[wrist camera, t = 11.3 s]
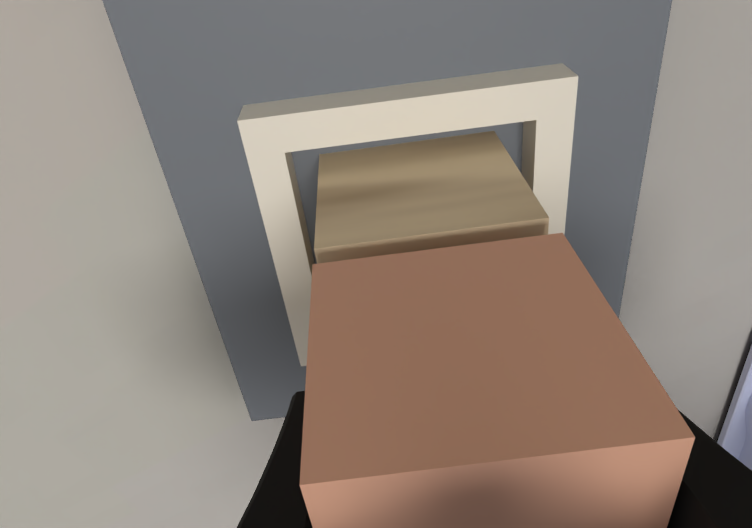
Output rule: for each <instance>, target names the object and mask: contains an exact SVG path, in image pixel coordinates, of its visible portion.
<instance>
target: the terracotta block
mask: <svg viewBox="0 0 752 528" xmlns="http://www.w3.org/2000/svg"><path fill="white" fill-rule="evenodd" d="M694 440H695V436H694V434H693V433H692V431H691V430H690V428H689V427H688V425H687V423H686V422H685V420H684V419H683V417H682V416H681V414H680V413H679V411H678V410H677V408H676V407H675V405H674V403H673V402H672V400H671V399H670V397H669V396H668V394H667V393H666V391H665V390H664V388H663V386H662V385H661V383H660V382H659V380H658V379H657V377H656V376H655V374H654V373H653V371H652V370H651V368H650V366H649V365H648V363H647V362H646V360H645V359H644V357H643V356H642V354H641V353H640V351H639V350H638V348H637V346H636V345H635V343H634V342H633V340H632V339H631V337H630V336H629V334H628V333H627V331H626V329H625V328H624V326H623V325H622V323H621V322H620V320H619V319H618V317H617V316H616V314H615V313H614V311H613V309H612V308H611V306H610V305H609V303H608V302H607V300H606V299H605V297H604V296H603V294H602V292H601V291H600V289H599V288H598V286H597V285H596V283H595V282H594V280H593V279H592V277H591V276H590V274H589V272H588V271H587V269H586V268H585V266H584V265H583V263H582V262H581V260H580V259H579V257H578V256H577V254H576V252H575V251H574V249H573V248H572V246H571V245H570V243H569V242H568V240H567V239H566V237H565V235H564V234H563V233H556V234H548V235H540V236H532V237H524V238H516V239H508V240H500V241H493V242H485V243H477V244H469V245H461V246H453V247H445V248H437V249H429V250H421V251H413V252H405V253H398V254H390V255H382V256H374V257H366V258H358V259H350V260H342V261H334V262H326V263H318V264H313V265H312V282H311V299H310V316H309V333H308V350H307V367H306V384H305V400H304V417H303V434H302V451H301V468H300V488H301V492H302V495H303V498H304V501H305V505H306V508H307V511H308V514H309V518H310V521H311V524H312V527H313V528H667V526H668V523H669V519H670V516H671V513H672V510H673V507H674V503H675V500H676V497H677V494H678V491H679V488H680V484H681V481H682V478H683V475H684V472H685V469H686V465H687V462H688V459H689V456H690V453H691V449H692V446H693V443H694Z"/></svg>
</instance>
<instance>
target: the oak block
mask: <svg viewBox="0 0 752 528" xmlns="http://www.w3.org/2000/svg"><path fill="white" fill-rule="evenodd" d="M548 228H549V217H548V215H547V213H546V212H545V210H544V209H543V207H542V206H541V204H540V202H539V201H538V199H537V198H536V196H535V195H534V193H533V191H532V190H531V188H530V187H529V185H528V184H527V182H526V180H525V179H524V177H523V176H522V174H521V172H520V171H519V169H518V168H517V166H516V165H515V163H514V161H513V160H512V158H511V157H510V155H509V154H508V152H507V150H506V149H505V147H504V146H503V144H502V142H501V141H500V139H499V138H498V136H497V135H496V133H495V131H488V132H481V133H473V134H466V135H459V136H451V137H444V138H437V139H429V140H422V141H414V142H407V143H400V144H392V145H385V146H378V147H370V148H363V149H355V150H348V151H341V152H333V153H326V154H319V169H318V187H317V205H316V223H315V241H314V251H315V256H316V260H317V264H318V263H326V262H334V261H342V260H350V259H358V258H366V257H374V256H382V255H390V254H398V253H405V252H413V251H421V250H429V249H437V248H445V247H453V246H461V245H469V244H477V243H485V242H493V241H500V240H508V239H516V238H524V237H532V236H540V235H548Z"/></svg>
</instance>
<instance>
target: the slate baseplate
mask: <svg viewBox="0 0 752 528" xmlns="http://www.w3.org/2000/svg"><path fill="white" fill-rule="evenodd" d="M102 1H103V3H104V6H105V9H106V12H107V15H108V17H109V20H110V23H111V26H112V29H113V32H114V34H115V37H116V40H117V43H118V46H119V48H120V51H121V54H122V57H123V60H124V63H125V65H126V68H127V71H128V74H129V77H130V79H131V82H132V85H133V88H134V91H135V94H136V96H137V99H138V102H139V105H140V108H141V110H142V113H143V116H144V119H145V122H146V125H147V127H148V130H149V133H150V136H151V139H152V141H153V144H154V147H155V150H156V153H157V156H158V158H159V161H160V164H161V167H162V170H163V172H164V175H165V178H166V181H167V184H168V187H169V189H170V192H171V195H172V198H173V201H174V203H175V206H176V209H177V212H178V215H179V218H180V220H181V223H182V226H183V229H184V232H185V234H186V237H187V240H188V243H189V246H190V249H191V251H192V254H193V257H194V260H195V263H196V265H197V268H198V271H199V274H200V277H201V280H202V282H203V285H204V288H205V291H206V294H207V296H208V299H209V302H210V305H211V308H212V311H213V313H214V316H215V319H216V322H217V325H218V327H219V330H220V333H221V336H222V339H223V342H224V344H225V347H226V350H227V353H228V356H229V358H230V361H231V364H232V367H233V370H234V373H235V375H236V378H237V381H238V384H239V387H240V389H241V392H242V395H243V398H244V401H245V404H246V406H247V409H248V412H249V415H250V418H251V420H252V421H256V420H264V419H272V418H280V417H286V414H287V411H288V408H289V405H290V402H291V399H292V396H293V395H294V394H295V393H296V392H299V391H305V384H306V367H307V350H308V333H309V316H310V299H311V282H312V265H313V264H317V260H316V256H315V251H314V241H315V223H316V205H317V187H318V169H319V154H326V153H333V152H341V151H348V150H355V149H363V148H370V147H378V146H385V145H392V144H400V143H407V142H414V141H422V140H429V139H437V138H444V137H451V136H459V135H466V134H473V133H481V132H488V131H495V133H496V135H497V136H498V138H499V139H500V141H501V142H502V144H503V146H504V147H505V149H506V150H507V152H508V154H509V155H510V157H511V158H512V160H513V161H514V163H515V165H516V166H517V168H518V169H519V171H520V172H521V174H522V176H523V177H524V179H525V180H526V182H527V184H528V185H529V187H530V188H531V190H532V191H533V193H534V195H535V196H536V198H537V199H538V201H539V202H540V204H541V206H542V207H543V209H544V210H545V212H546V213H547V215H548V217H549V228H548V234H556V233H563V234H564V235H565V237H566V239H567V240H568V242H569V243H570V245H571V246H572V248H573V249H574V251H575V252H576V254H577V256H578V257H579V259H580V260H581V262H582V263H583V265H584V266H585V268H586V269H587V271H588V272H589V274H590V276H591V277H592V279H593V280H594V282H595V283H596V285H597V286H598V288H599V289H600V291H601V292H602V294H603V296H604V297H605V299H606V300H607V302H608V303H609V305H610V306H611V308H612V309H613V311H614V313H615V314H616V316H617V317H618V318H619V312H620V306H621V300H622V295H623V289H624V283H625V277H626V271H627V265H628V259H629V253H630V247H631V241H632V235H633V229H634V223H635V217H636V211H637V205H638V200H639V194H640V188H641V182H642V176H643V170H644V164H645V158H646V152H647V146H648V140H649V134H650V128H651V122H652V116H653V111H654V105H655V99H656V93H657V87H658V81H659V75H660V69H661V63H662V57H663V51H664V45H665V39H666V33H667V27H668V21H669V16H670V10H671V4H672V0H102Z"/></svg>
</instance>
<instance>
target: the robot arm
mask: <svg viewBox="0 0 752 528" xmlns="http://www.w3.org/2000/svg"><path fill="white" fill-rule="evenodd" d="M304 400H305V391H299V392H296V393H295V394H294V395H293V396H292V399H291V402H290V405H289V408H288V411H287V414H286V417H285V420H284V423H283V426H282V429H281V431H280V434H279V437H278V439H277V442H276V444H275V447H274V449H273V452H272V454H271V456H270V459H269V461H268V463H267V465H266V468H265V470H264V472H263V474H262V477H261V479H260V481H259V483H258V486H257V488H256V490H255V492H254V494H253V497H252V499H251V501H250V503H249V505H248V507H247V509H246V510H245V512H244V514H243V516H242V518H241V520H240V522H239V524H238V526H237V528H313V527H312V524H311V521H310V518H309V514H308V511H307V508H306V505H305V501H304V498H303V495H302V492H301V488H300V468H301V451H302V434H303V417H304ZM677 410H678V409H677ZM678 411H679V410H678ZM679 413H680V414H681V416H682V417H683V419H684V420H685V422H686V423H687V425H688V427H689V428H690V430H691V431H692V433H693V434H694V436H695V440H694V443H693V446H692V449H691V453H690V456H689V459H688V462H687V465H686V469H685V472H684V475H683V478H682V481H681V484H680V488H679V491H678V494H677V497H676V500H675V503H674V507H673V510H672V513H671V516H670V519H669V523H668V526H667V528H752V345H751V348H750V351H749V354H748V356H747V359H746V362H745V365H744V368H743V371H742V373H741V376H740V379H739V382H738V385H737V388H736V390H735V393H734V396H733V399H732V402H731V405H730V407H729V410H728V413H727V416H726V419H725V421H724V424H723V427H722V430H721V433H720V436H719V438H718V441H717V442H715V441H714V440H713V439H712V438H711V437H709V436H708V435H707V434H706V433H705V432H704V431H702V430H701V429H700V428H699V427H698V426H696V425H695V424H694V423H693V422H692V421H691V420H689V419H688V418H687V417H686V416H685V415H684V414H682V413H681V412H680V411H679Z"/></svg>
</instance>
